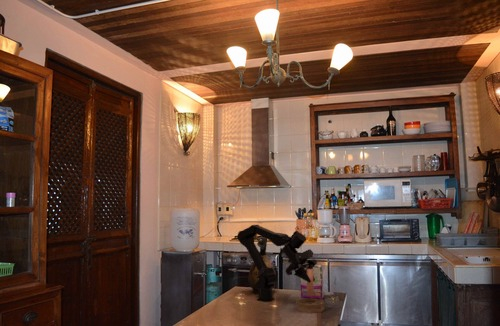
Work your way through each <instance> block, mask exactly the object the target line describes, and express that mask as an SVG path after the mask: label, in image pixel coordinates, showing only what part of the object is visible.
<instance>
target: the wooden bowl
mask: <svg viewBox="0 0 500 326" xmlns="http://www.w3.org/2000/svg"><path fill="white" fill-rule="evenodd" d="M295 302H296V304H295V305H296V310H298V311H299V312H301V313H309V314H316V313H322V312H323V311H325V310H326V303H325V301H324V300H323V299H314V298H299V299H298V300H296V301H295Z"/></svg>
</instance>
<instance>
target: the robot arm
mask: <svg viewBox="0 0 500 326" xmlns="http://www.w3.org/2000/svg"><path fill="white" fill-rule="evenodd" d="M257 235H259V236H261V237H262V238H263V237H265V238H267V240H269V241H270V242H271V243H272V244H273V245H274V246H276V247H281V248H280V249H279V254H280V255H285V256H286V257H287V259H288V261H287V262H288V263H290V264H289V265H288V266H287V267H286V269H285V274H286V275H287V276H291V275H293V276H296V277H298V278H300V279H301V278H302V279H304V280H306V281H307V282H309V283H310V282H311V280H310V278H309V277H308V275H307V269H312V268H313V267H314V266H315V265H318V262H317V260H316V259H314V258H313V257H314V251H313V250H312V249H311V248H310V249H309V248H308V249H307V250H304V251H302V252H298V249H300V248H301V247H302V245H304V244H305V242H307V238H306V236H305V235H304V234H302V233H301V232H300V231H298V230H295V231H294V232H293V233H292V235H291V236H289V235H288V234H287V233H282V232H275V231H272V230H270V229H268V228H266V227H263V226H261V225H259V224H251V225H250V226H248V227H247V228H244V229H242V230H239V231H238V233H237V236H236V238H237V240H238V241H239V243H240V244H241V245H242V246H243V247H245V248H246V250H247V253H248V254H249V255H250V256H249V257H250V258H251V260H252V263H253V262H254V263H255V265H256V267H257V269H258V277H259V280H258V282H257V283H256V287H257V288H259V294H258V298H256V300H257V301H262V302H270V301H272V300H274V299H275V298H274V291H273V287H275V285H276V281H277V273H276V271H275V272H274V270H275V269H274V270H273V268H272V267H271V268H268V267H267V266H266V264H265V262H264V260H263V258H262V257H261V255H260V250H258V247H257V245H256V244H255V236H257ZM310 258H313V259H310ZM293 271H294V274H293ZM275 274H276V275H275ZM314 281H315V278H314V275H313V282H314ZM274 284H275V285H274Z"/></svg>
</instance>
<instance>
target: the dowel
mask: <svg viewBox="0 0 500 326" xmlns="http://www.w3.org/2000/svg"><path fill="white" fill-rule="evenodd" d="M307 275H308V277H309V278H310V280H311V282H310V283H309V282H307V296H314V293H313V269H307Z"/></svg>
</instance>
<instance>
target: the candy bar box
mask: <svg viewBox="0 0 500 326" xmlns="http://www.w3.org/2000/svg"><path fill="white" fill-rule="evenodd" d="M312 269H313V275H314V278H315V281H314V282H313V293H314V296H307V281H306V280H304V279H302V278H300V299H305V298H313V299H321V300H323V298H324V279H323V265H322V264H321V265H320V264H316V265H315V266H314V267H313V268H312Z"/></svg>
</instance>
